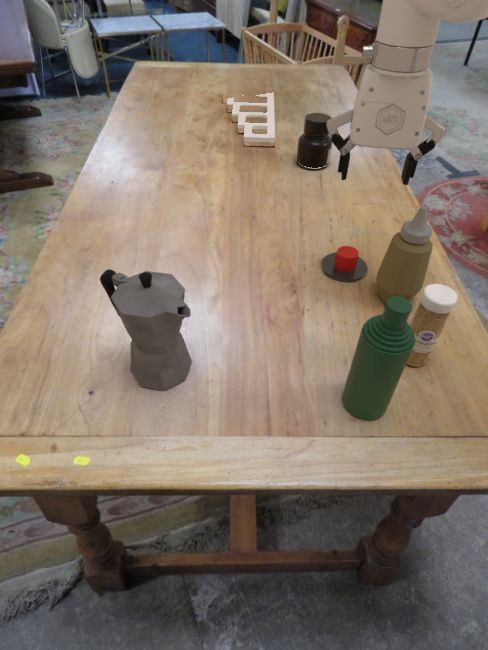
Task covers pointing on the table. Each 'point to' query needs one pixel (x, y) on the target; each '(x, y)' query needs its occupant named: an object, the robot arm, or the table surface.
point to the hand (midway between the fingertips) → (373, 178)
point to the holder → (249, 126)
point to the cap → (346, 258)
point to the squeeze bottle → (406, 259)
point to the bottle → (379, 360)
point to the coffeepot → (152, 325)
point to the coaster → (339, 275)
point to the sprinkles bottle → (430, 321)
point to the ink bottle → (314, 141)
